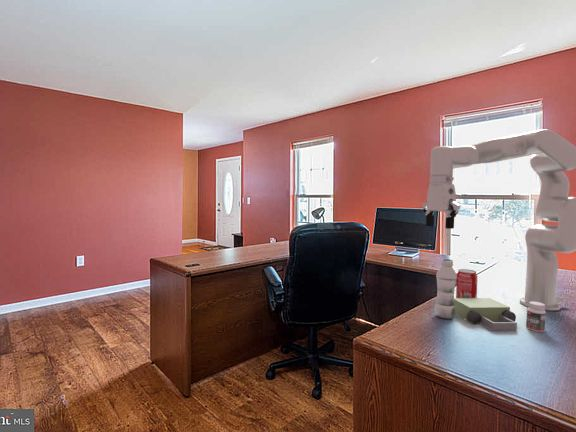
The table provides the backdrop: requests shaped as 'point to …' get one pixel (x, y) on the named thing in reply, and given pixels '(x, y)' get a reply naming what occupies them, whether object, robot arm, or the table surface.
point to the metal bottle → (445, 290)
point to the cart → (486, 313)
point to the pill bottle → (536, 316)
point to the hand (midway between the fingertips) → (439, 227)
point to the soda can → (466, 284)
